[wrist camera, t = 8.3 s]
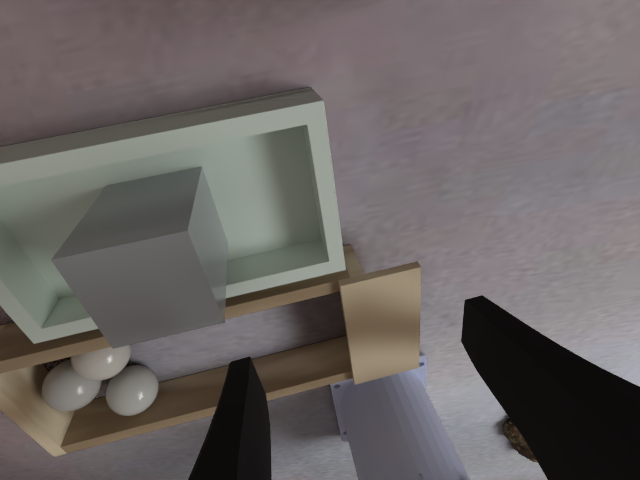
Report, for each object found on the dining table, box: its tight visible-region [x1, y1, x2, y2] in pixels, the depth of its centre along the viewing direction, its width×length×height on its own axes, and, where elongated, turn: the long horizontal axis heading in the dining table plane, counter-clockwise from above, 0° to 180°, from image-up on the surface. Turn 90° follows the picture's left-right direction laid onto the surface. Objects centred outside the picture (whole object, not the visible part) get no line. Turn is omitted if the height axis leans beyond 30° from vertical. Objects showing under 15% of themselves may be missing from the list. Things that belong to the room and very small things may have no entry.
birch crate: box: [0, 245, 421, 457], centre depth 22 cm, size 9×24×4 cm, turn 98°
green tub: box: [0, 87, 346, 344], centre depth 17 cm, size 9×16×3 cm, turn 98°
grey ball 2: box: [106, 365, 159, 416], centre depth 23 cm, size 3×3×3 cm
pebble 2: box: [71, 345, 131, 381], centre depth 21 cm, size 3×3×3 cm
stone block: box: [51, 166, 228, 349], centre depth 16 cm, size 4×4×6 cm
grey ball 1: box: [42, 359, 102, 412], centre depth 22 cm, size 3×3×3 cm
